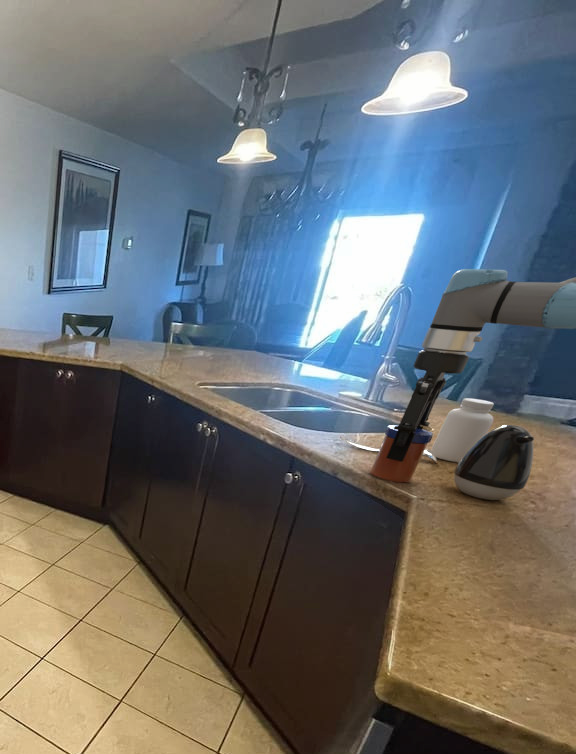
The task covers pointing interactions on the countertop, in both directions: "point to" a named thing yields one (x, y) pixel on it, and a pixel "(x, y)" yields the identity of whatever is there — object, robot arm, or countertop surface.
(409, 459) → the jar
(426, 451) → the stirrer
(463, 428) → the pill bottle
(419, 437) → the lid
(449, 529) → the countertop surface
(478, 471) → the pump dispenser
